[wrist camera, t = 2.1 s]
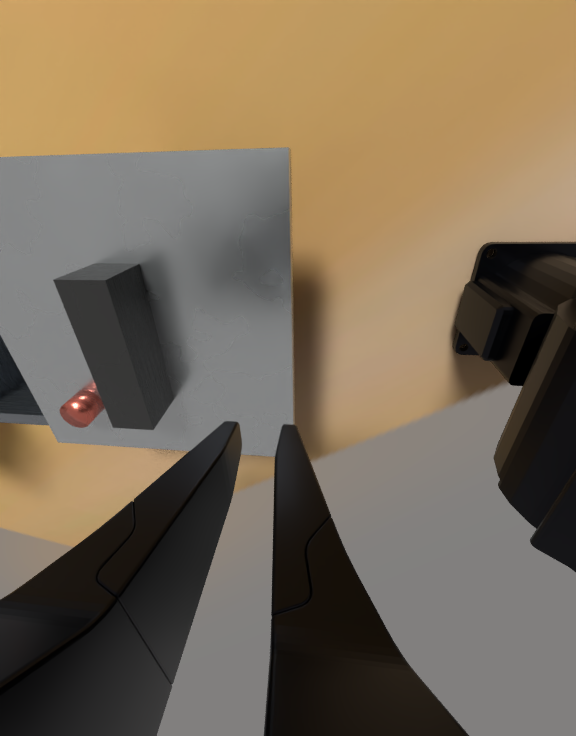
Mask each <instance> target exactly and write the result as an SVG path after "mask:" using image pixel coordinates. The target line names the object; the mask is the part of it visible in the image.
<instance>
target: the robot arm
mask: <svg viewBox="0 0 576 736" xmlns="http://www.w3.org/2000/svg"><path fill="white" fill-rule="evenodd" d="M490 249H494V253H493V254H492V255H491V256H490V257H487V252H488V251H489V250H490ZM455 326H456V327H457V328H458V329H457V332H456V336H455V340H454V343H453V348H454V350H455V351H456V353H458V354H461V355H480V356H481V358H482V359H483V360H484V361H491V362H492V363H493V365H494V366H495V367H496V368H497V369H498V371H499V372H500V373H501V374H502V375H503V376H504V378H505V379H506V380H507V381H508V382H509V383H510V385H514V386H523V387H522V390H521V392H520V394H519V397H518V399H517V401H516V403H515V406H514V408H513V410H512V413H511V415H510V417H509V419H508V422H507V424H506V426H505V429H504V431H503V433H502V435H501V438H500V440H499V442H498V445H497V448H496V452H495V455H494V461H495V465H496V468H497V473H498V476H499V478H500V481H499V483H498V486H499V489H500V490H501V491H502V493H503V494H504V496H505V497H506V499H507V500H508V501H509V503H510V504H511V505H512V506H513V507H514V508H515V509H516V510H517V511H518V512H519V513H520V514H521V515H522V516H523V517H524V518H525V519H526V520H527V521H528V522H529V523H530V524H531V525H533V526H534V527H535V528H536V529H537V530H536V531H535V533H534V534H533V536H532V537H531V539H530V542H531V544H532V545H533V546H534V547H535V548H536V549H538V550H540V551H541V552H543V553H545V554H547V555H549V556H550V557H552V558H554V559H556V560H557V561H559V562H561V563H563V564H565V565H566V566H568V567H570V568H571V569H572V570H574V571H575V572H576V242H490V243H486V244H485V245H483V246H482V247H481V248H480V250H479V253H478V256H477V260H476V264H475V267H474V271H473V274H472V278H471V281H469V282H468V283H467V284H466V285H465V288H464V292H463V296H462V300H461V303H460V307H459V311H458V314H457V318H456V322H455ZM462 344H466V346H465V347H463V348H459V347H460V346H461V345H462ZM241 450H242V438H241V431H240V425H239V423H238V422H236V421H225V422H223V423H222V424H221V425H220V426H219V427H217V428H216V429H215V430H214V431H213V432H212V433H210V434H209V435H208V436H207V437H206V438H205V439H203V440H202V441H201V442H200V443H199V444H198V445H196V446H195V447H194V448H193V449H192V450H191V451H189V452H188V453H187V454H186V455H185V456H184V457H183V458H181V459H180V460H179V461H178V462H177V463H176V464H174V465H173V466H172V467H171V468H170V469H169V470H167V471H166V472H165V473H164V474H163V475H162V476H160V477H159V478H158V479H157V480H156V481H155V482H153V483H152V484H151V485H150V486H149V487H148V488H146V489H145V490H144V491H143V492H142V493H141V494H139V495H138V496H137V497H136V498H135V499H134V502H133V501H131V502H130V503H129V504H128V505H126V506H125V507H124V508H123V509H122V510H121V511H119V512H118V513H117V514H116V515H115V516H113V517H112V518H111V519H110V520H109V521H107V522H106V523H105V524H104V525H102V526H101V527H100V528H99V529H97V530H96V531H95V532H93V533H92V534H91V535H90V536H88V537H87V538H86V539H84V540H83V541H82V542H80V543H79V544H78V545H76V546H75V547H74V548H72V549H71V550H70V551H68V552H67V553H66V554H64V555H63V556H61V557H60V558H59V559H57V560H56V561H55V562H53V563H52V564H51V565H49V566H48V567H47V568H45V569H44V570H43V571H41V572H40V573H38V574H37V575H36V576H34V577H33V578H32V579H30V580H29V581H27V582H26V583H25V584H23V585H22V586H21V587H19V588H18V589H16V590H15V591H13V592H12V593H10V594H9V595H7V596H6V597H4V598H2V599H1V600H0V736H157V732H158V729H159V726H160V723H161V720H162V717H163V713H164V710H165V707H166V704H167V701H168V698H169V695H170V692H171V688H172V685H171V684H173V682H174V679H175V675H176V672H177V669H178V666H179V663H180V660H181V657H182V654H183V650H184V647H185V644H186V640H187V638H188V635H189V632H190V628H191V625H192V622H193V619H194V616H195V613H196V609H197V607H198V603H199V600H200V597H201V594H202V591H203V587H204V585H205V581H206V578H207V575H208V572H209V569H210V566H211V562H212V559H213V556H214V553H215V550H216V547H217V543H218V540H219V537H220V534H221V531H222V528H223V525H224V522H225V519H226V516H227V512H228V509H229V506H230V503H231V499H232V496H233V491H234V486H235V481H236V476H237V471H238V466H239V460H240V455H241ZM271 613H272V614H271V615H272V619H271V646H270V662H269V675H268V688H267V701H266V714H265V727H264V736H469V735H468V734H467V733H466V731H465V730H464V729H463V728H462V727H461V725H460V724H459V723H458V722H457V721H456V720H455V719H454V717H453V716H452V715H451V714H450V713H449V711H448V710H447V709H446V708H445V707H444V706H443V704H442V703H441V702H440V701H439V700H438V699H437V697H436V696H435V695H434V694H433V693H432V692H431V690H430V689H429V688H428V687H427V686H426V685H425V683H424V682H423V681H422V680H421V679H420V677H419V676H418V675H417V674H416V673H415V672H414V670H413V669H412V668H411V667H410V665H409V664H408V663H407V661H406V660H405V658H404V657H403V655H402V654H401V652H400V651H399V649H398V647H397V646H396V644H395V643H394V641H393V639H392V637H391V636H390V634H389V632H388V631H387V629H386V627H385V625H384V623H383V621H382V619H381V618H380V616H379V614H378V612H377V610H376V608H375V606H374V605H373V603H372V601H371V599H370V597H369V595H368V593H367V591H366V590H365V588H364V586H363V584H362V583H361V580H360V579H359V577H358V575H357V573H356V571H355V569H354V567H353V565H352V563H351V561H350V559H349V557H348V555H347V553H346V551H345V548H344V546H343V544H342V541H341V539H340V537H339V534H338V532H337V529H336V527H335V524H334V522H333V519H332V518H331V514H330V512H329V509H328V507H327V504H326V501H325V499H324V496H323V493H322V491H321V488H320V486H319V483H318V480H317V478H316V475H315V472H314V470H313V467H312V465H311V462H310V459H309V457H308V454H307V452H306V449H305V446H304V444H303V441H302V439H301V436H300V433H299V431H298V428H297V426H296V425H291V424H283V425H282V428H281V432H280V436H279V440H278V444H277V449H276V454H275V473H274V521H273V567H272V612H271Z"/></svg>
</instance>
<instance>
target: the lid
mask: <svg viewBox="0 0 576 736" xmlns="http://www.w3.org/2000/svg"><path fill="white" fill-rule="evenodd" d="M0 335H1V337H2V339H3V341H4V343H5V345H6V346H7V348H8V350H9V352H10V354H11V356H12V357H13V359H14V361H15V363H16V365H17V367H18V369H19V370H20V372H21V374H22V376H23V378H24V380H25V382H26V383H27V385H28V387H29V389H30V391H31V393H32V395H33V396H34V398H35V400H36V402H37V404H38V406H39V408H40V409H41V411H42V413H43V415H44V417H45V419H46V421H47V422H48V424H49V426H50V428H51V430H52V432H53V434H54V435H55V437H56V439H57V441H58V442H62V443H77V444H92V445H107V446H122V447H137V448H152V449H167V450H182V451H191V450H192V449H193V448H194V447H195V446H196V445H198V444H199V443H200V442H201V441H202V440H203V439H205V438H206V437H207V436H208V435H209V434H210V433H212V432H213V431H214V430H215V429H216V428H217V427H219V426H220V425H221V424H222V423H223V422H225V421H236V422H238V423H239V425H240V431H241V438H242V450H241V454H243V455H258V456H273V457H275V454H276V449H277V444H278V440H279V436H280V432H281V428H282V425H283V424H291V425H295V397H294V325H293V254H292V183H291V149H290V148H289V147H288V148H258V149H228V150H198V151H169V152H139V153H109V154H80V155H50V156H20V157H0Z"/></svg>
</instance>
